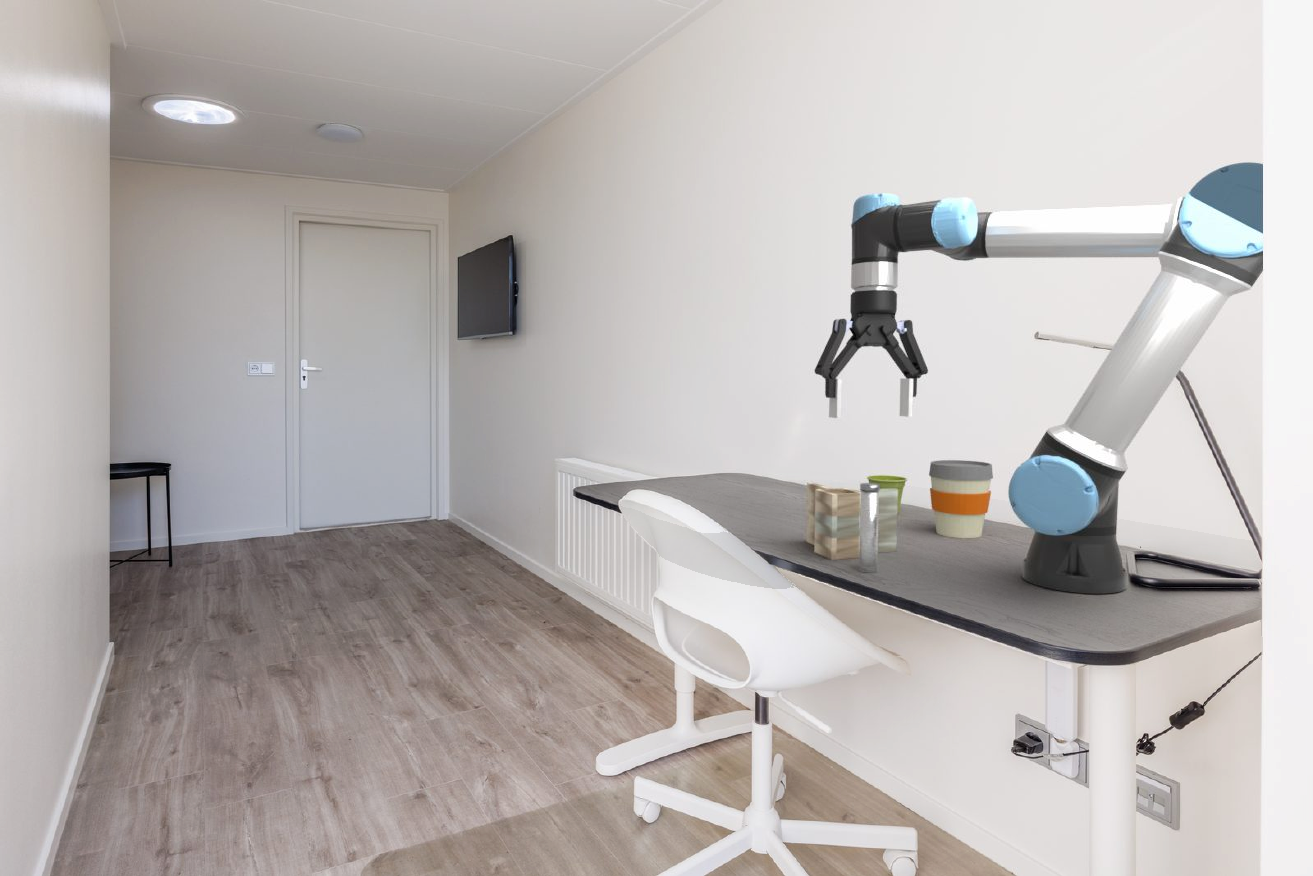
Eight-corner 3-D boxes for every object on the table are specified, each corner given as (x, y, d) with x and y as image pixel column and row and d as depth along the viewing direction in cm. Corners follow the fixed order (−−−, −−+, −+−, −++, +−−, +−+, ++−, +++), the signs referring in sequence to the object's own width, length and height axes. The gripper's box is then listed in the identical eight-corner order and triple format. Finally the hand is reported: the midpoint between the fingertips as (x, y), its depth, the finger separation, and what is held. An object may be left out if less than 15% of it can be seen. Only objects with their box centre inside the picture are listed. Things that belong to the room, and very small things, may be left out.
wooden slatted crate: (904, 554, 147) (906, 491, 146) (831, 559, 143) (832, 494, 142) (861, 537, 162) (862, 480, 161) (794, 542, 158) (794, 483, 157)
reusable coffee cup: (985, 542, 158) (988, 468, 156) (921, 535, 164) (923, 464, 163) (995, 531, 168) (997, 462, 167) (934, 525, 175) (936, 458, 174)
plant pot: (906, 510, 194) (907, 475, 193) (906, 517, 185) (907, 481, 184) (867, 508, 197) (867, 474, 196) (865, 515, 188) (866, 479, 187)
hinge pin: (881, 572, 134) (883, 485, 133) (864, 573, 134) (866, 486, 132) (871, 567, 138) (873, 482, 136) (855, 568, 137) (856, 483, 135)
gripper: (924, 294, 139) (921, 414, 140) (796, 290, 132) (794, 417, 134) (951, 290, 132) (947, 417, 133) (817, 286, 125) (814, 419, 126)
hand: (870, 417), depth 133 cm, fingers open, 13 cm apart
